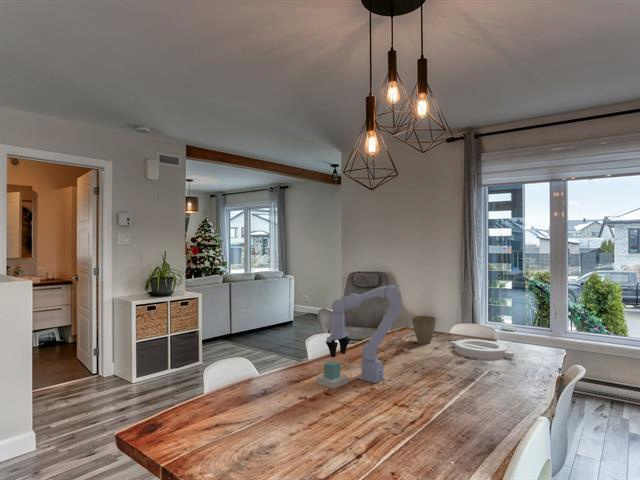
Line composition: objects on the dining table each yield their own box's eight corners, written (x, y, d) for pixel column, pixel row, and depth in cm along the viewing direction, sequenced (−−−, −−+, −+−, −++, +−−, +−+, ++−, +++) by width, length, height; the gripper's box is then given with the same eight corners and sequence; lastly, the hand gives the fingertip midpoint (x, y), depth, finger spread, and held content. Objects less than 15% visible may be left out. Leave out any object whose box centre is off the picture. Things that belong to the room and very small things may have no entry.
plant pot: (421, 339, 260) (421, 314, 260) (440, 343, 249) (440, 318, 249) (406, 342, 251) (407, 317, 251) (426, 346, 239) (426, 320, 240)
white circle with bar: (448, 346, 242) (448, 338, 242) (495, 347, 241) (495, 339, 241) (463, 359, 214) (463, 350, 214) (516, 360, 213) (516, 351, 213)
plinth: (348, 382, 173) (348, 376, 173) (334, 388, 165) (334, 382, 166) (330, 377, 180) (330, 372, 180) (316, 383, 172) (316, 377, 172)
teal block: (339, 376, 173) (340, 363, 173) (333, 379, 169) (333, 365, 169) (330, 374, 176) (331, 361, 176) (324, 377, 172) (324, 363, 172)
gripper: (340, 322, 189) (340, 350, 189) (321, 326, 178) (321, 356, 178) (352, 324, 185) (352, 353, 185) (334, 328, 174) (333, 359, 173)
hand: (338, 355), depth 181 cm, fingers open, 7 cm apart
